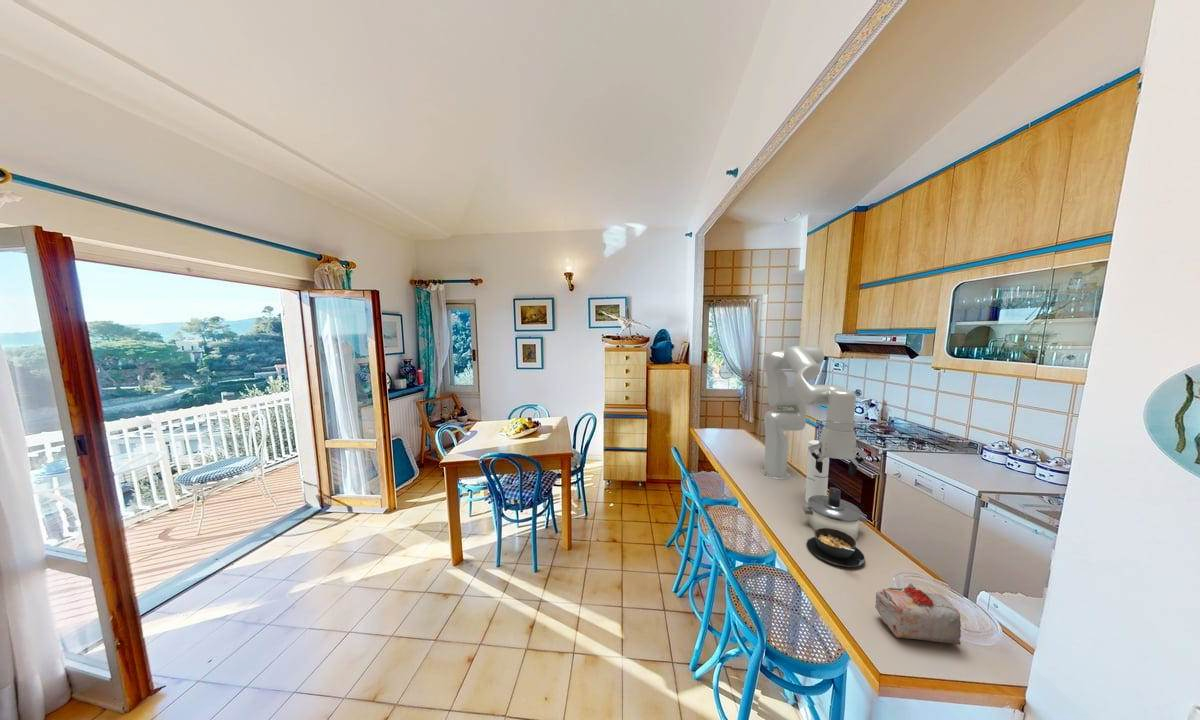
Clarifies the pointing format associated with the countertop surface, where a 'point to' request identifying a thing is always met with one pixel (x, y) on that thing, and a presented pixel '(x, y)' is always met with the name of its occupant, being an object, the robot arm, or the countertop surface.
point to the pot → (833, 523)
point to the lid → (834, 506)
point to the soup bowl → (835, 547)
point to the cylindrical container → (816, 475)
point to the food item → (919, 615)
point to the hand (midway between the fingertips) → (835, 473)
